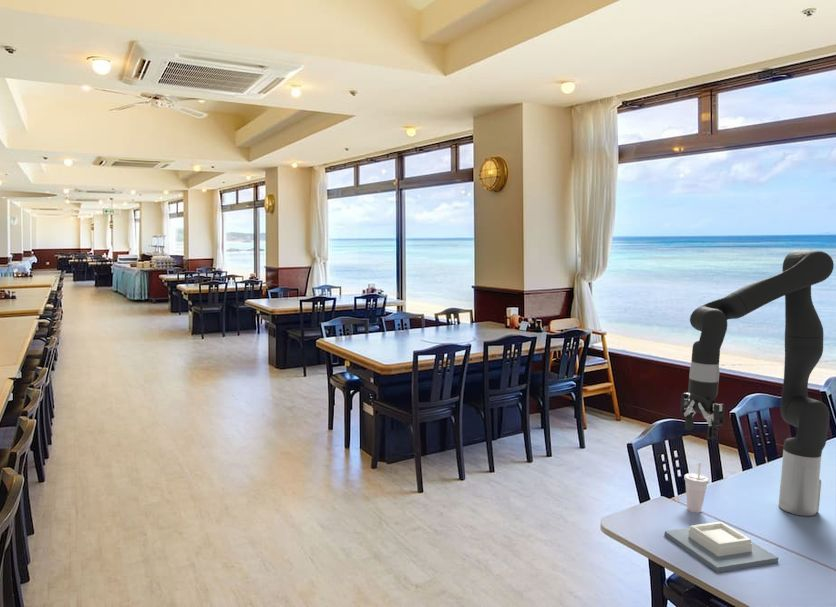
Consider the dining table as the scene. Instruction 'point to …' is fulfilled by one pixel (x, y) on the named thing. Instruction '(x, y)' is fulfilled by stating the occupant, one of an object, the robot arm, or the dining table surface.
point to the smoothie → (695, 490)
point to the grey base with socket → (720, 546)
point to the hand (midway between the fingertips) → (699, 434)
